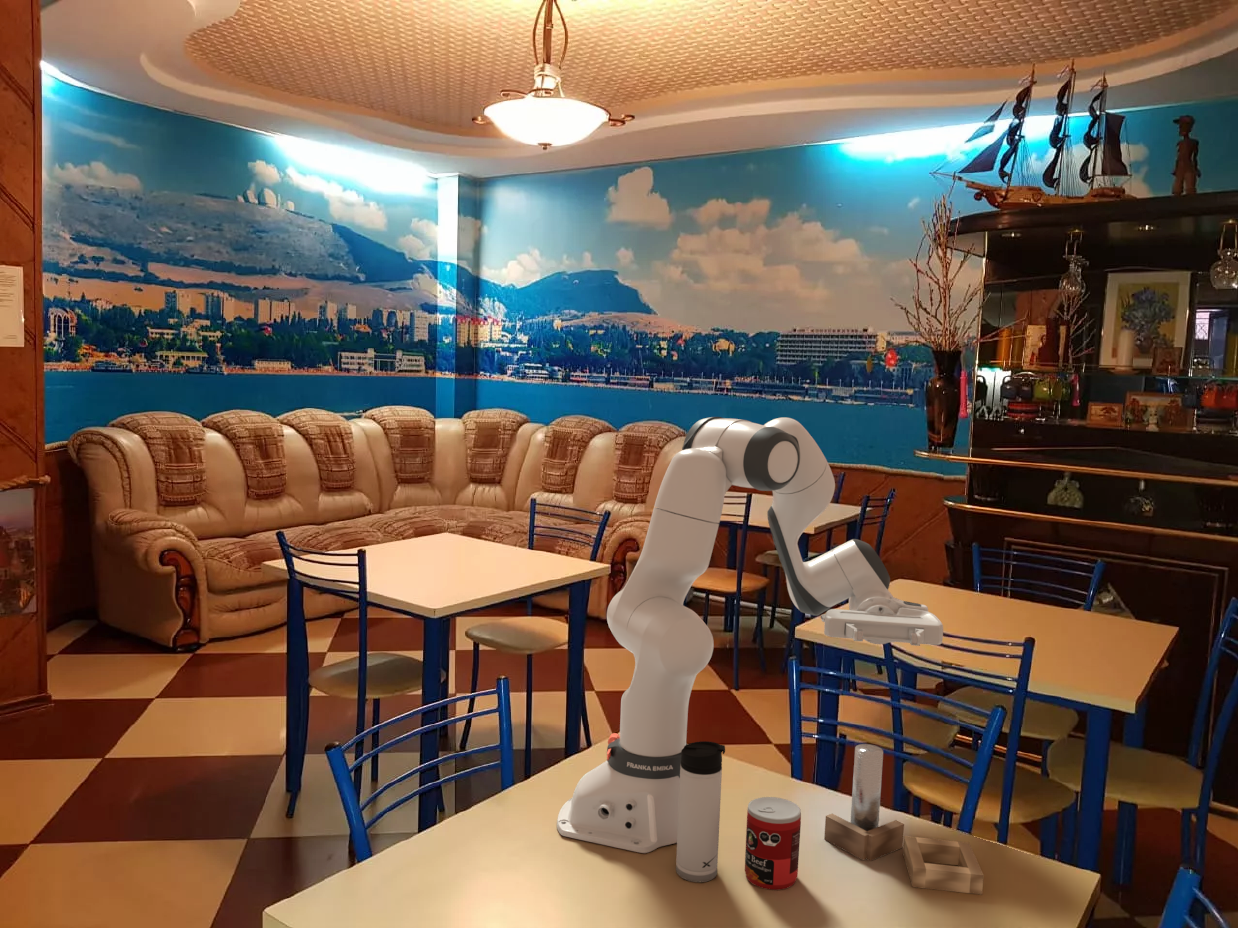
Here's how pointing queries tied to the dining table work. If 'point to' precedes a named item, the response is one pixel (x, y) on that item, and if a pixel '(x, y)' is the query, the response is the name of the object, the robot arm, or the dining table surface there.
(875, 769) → the steel axle
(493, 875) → the dining table surface
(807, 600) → the robot arm
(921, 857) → the oak collar
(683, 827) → the travel mug
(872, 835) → the walnut V-block
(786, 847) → the canned food
